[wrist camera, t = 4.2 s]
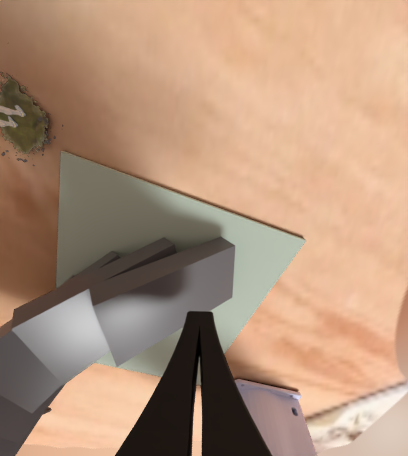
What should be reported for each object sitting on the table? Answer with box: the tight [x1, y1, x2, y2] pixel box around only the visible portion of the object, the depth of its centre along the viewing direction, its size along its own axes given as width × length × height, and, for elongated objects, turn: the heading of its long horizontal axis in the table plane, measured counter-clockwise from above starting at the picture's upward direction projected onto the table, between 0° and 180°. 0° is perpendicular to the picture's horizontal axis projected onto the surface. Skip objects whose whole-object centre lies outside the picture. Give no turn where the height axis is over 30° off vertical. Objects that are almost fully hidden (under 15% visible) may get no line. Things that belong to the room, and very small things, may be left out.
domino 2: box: [0, 275, 74, 444], centre depth 14 cm, size 2×5×9 cm
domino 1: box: [0, 251, 120, 413], centre depth 13 cm, size 2×5×9 cm
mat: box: [56, 151, 306, 385], centre depth 18 cm, size 18×23×1 cm
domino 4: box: [89, 237, 235, 367], centre depth 13 cm, size 2×5×9 cm
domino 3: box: [11, 237, 177, 385], centre depth 13 cm, size 2×5×9 cm
